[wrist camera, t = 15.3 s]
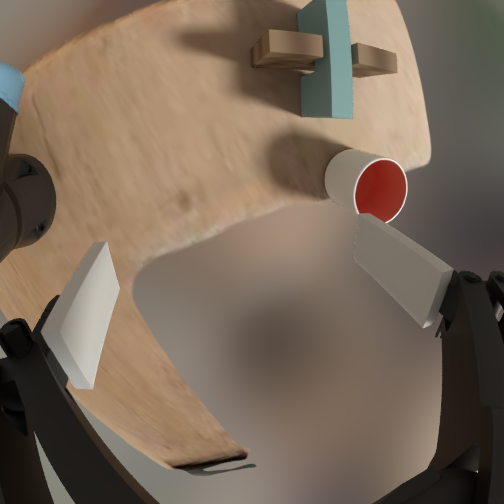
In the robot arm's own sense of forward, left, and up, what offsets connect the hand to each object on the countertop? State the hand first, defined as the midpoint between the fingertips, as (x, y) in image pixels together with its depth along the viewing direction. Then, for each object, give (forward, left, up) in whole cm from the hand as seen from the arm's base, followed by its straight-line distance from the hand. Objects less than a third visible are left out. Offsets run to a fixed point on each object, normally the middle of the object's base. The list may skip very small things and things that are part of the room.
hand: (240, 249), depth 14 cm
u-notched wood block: (+16, +16, -29) cm, 37 cm away
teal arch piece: (+16, +16, -29) cm, 36 cm away
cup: (+23, -3, -29) cm, 37 cm away
